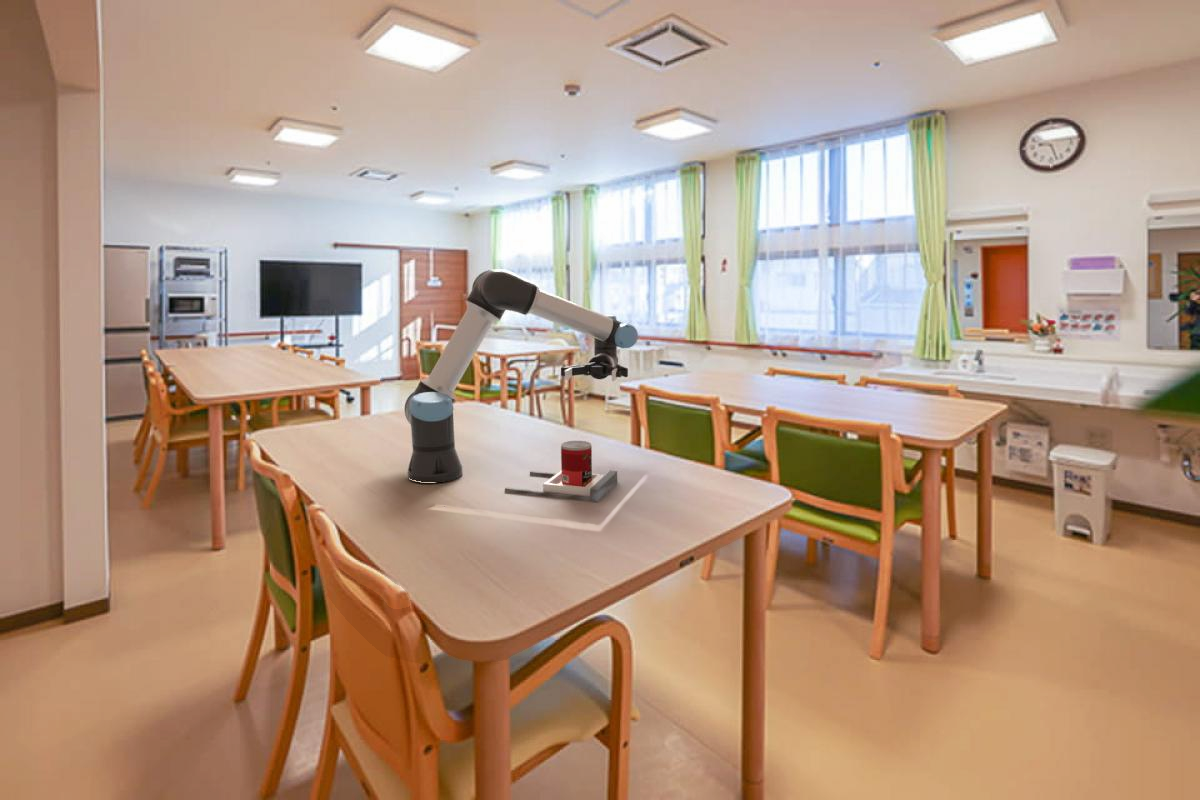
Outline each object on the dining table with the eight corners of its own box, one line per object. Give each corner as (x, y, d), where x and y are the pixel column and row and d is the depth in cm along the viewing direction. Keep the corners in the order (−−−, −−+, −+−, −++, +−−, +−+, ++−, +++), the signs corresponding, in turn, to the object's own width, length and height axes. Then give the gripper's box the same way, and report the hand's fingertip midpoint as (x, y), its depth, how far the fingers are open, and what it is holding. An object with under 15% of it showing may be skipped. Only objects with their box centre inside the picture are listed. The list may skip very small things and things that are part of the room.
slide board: (505, 495, 158) (504, 479, 157) (531, 477, 173) (531, 462, 172) (603, 507, 149) (603, 490, 148) (622, 486, 164) (622, 471, 163)
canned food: (588, 490, 155) (588, 448, 153) (558, 488, 156) (557, 447, 154) (594, 481, 162) (594, 441, 160) (565, 479, 164) (564, 439, 162)
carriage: (543, 493, 156) (543, 483, 156) (561, 479, 167) (561, 470, 167) (592, 498, 152) (592, 489, 151) (607, 484, 163) (607, 475, 163)
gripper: (639, 378, 193) (632, 389, 173) (563, 377, 197) (547, 388, 177) (640, 354, 192) (633, 363, 171) (562, 354, 196) (546, 362, 175)
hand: (589, 375), depth 174 cm, fingers open, 13 cm apart
